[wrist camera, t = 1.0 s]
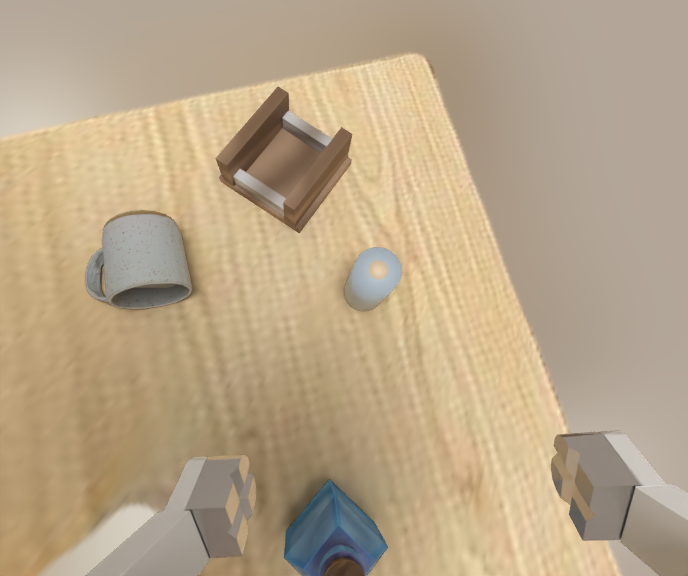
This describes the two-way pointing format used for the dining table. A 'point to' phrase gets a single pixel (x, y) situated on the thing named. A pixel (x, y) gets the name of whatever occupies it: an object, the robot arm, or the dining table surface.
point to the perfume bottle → (333, 537)
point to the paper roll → (372, 278)
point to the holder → (284, 162)
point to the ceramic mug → (140, 262)
